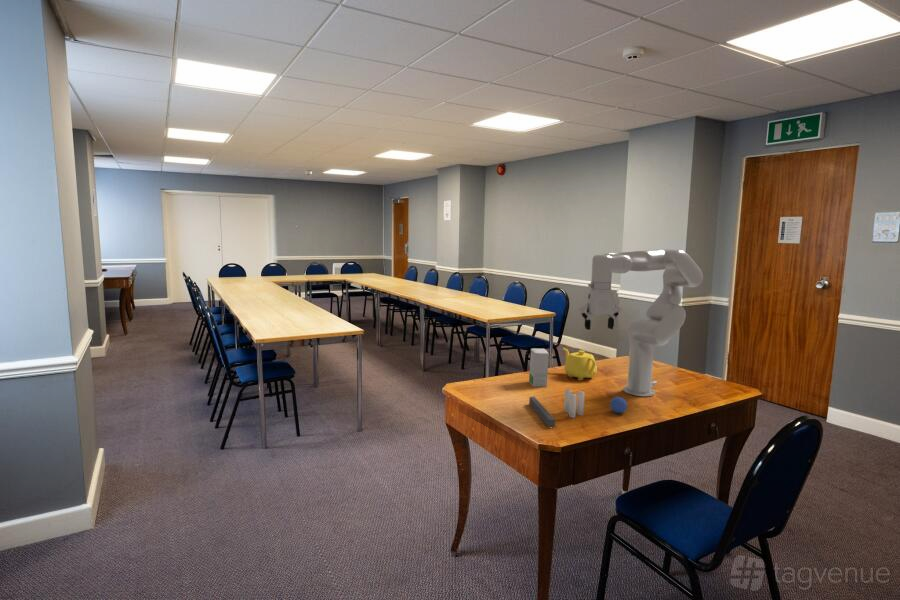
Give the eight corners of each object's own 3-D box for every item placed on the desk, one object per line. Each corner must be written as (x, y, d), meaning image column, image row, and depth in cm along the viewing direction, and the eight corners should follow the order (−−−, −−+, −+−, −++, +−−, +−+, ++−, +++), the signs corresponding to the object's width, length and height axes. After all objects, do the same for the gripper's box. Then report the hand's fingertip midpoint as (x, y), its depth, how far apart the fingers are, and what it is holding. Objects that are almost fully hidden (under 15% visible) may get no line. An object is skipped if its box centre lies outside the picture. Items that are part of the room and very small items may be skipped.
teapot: (584, 384, 221) (585, 356, 219) (552, 373, 237) (553, 347, 236) (604, 379, 228) (606, 352, 226) (572, 369, 245) (573, 344, 243)
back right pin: (567, 410, 187) (568, 388, 186) (571, 412, 185) (572, 390, 184) (562, 411, 186) (563, 389, 185) (567, 413, 184) (568, 391, 183)
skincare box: (528, 381, 223) (530, 348, 221) (543, 381, 224) (544, 348, 222) (533, 387, 215) (534, 352, 213) (548, 387, 216) (549, 352, 214)
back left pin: (572, 415, 182) (573, 393, 181) (576, 417, 180) (577, 394, 179) (567, 416, 181) (568, 394, 180) (572, 418, 179) (573, 395, 178)
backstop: (534, 404, 194) (534, 396, 193) (554, 427, 170) (554, 419, 170) (529, 404, 193) (529, 396, 193) (548, 428, 170) (549, 419, 169)
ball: (616, 408, 189) (617, 393, 189) (629, 413, 184) (630, 398, 184) (606, 411, 186) (607, 396, 186) (619, 416, 181) (620, 401, 180)
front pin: (579, 412, 185) (581, 390, 184) (584, 414, 183) (585, 392, 182) (575, 413, 184) (576, 391, 183) (580, 415, 182) (581, 393, 181)
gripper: (584, 287, 189) (582, 331, 191) (626, 287, 192) (623, 330, 194) (576, 285, 196) (574, 327, 198) (616, 285, 199) (614, 326, 201)
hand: (599, 328), depth 196 cm, fingers open, 9 cm apart
